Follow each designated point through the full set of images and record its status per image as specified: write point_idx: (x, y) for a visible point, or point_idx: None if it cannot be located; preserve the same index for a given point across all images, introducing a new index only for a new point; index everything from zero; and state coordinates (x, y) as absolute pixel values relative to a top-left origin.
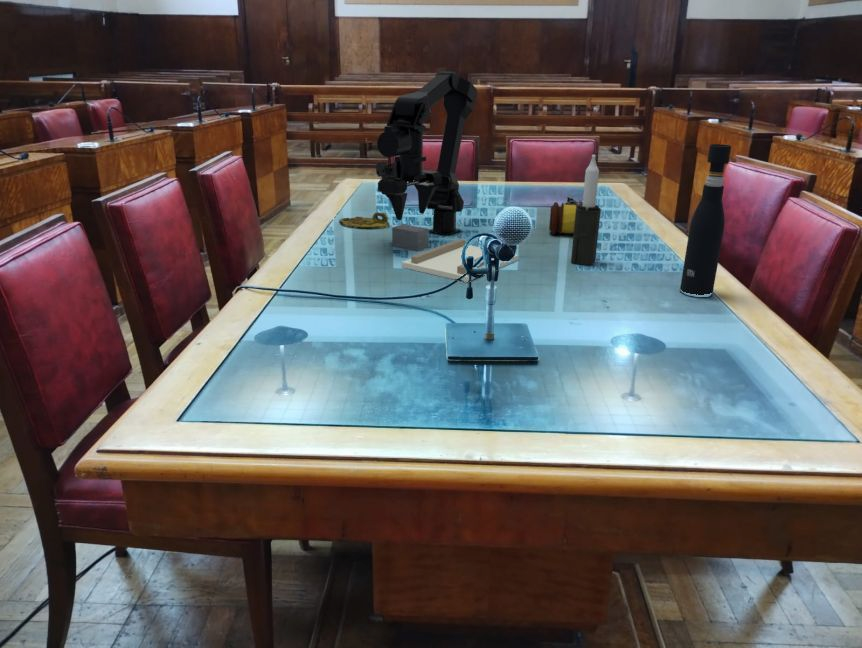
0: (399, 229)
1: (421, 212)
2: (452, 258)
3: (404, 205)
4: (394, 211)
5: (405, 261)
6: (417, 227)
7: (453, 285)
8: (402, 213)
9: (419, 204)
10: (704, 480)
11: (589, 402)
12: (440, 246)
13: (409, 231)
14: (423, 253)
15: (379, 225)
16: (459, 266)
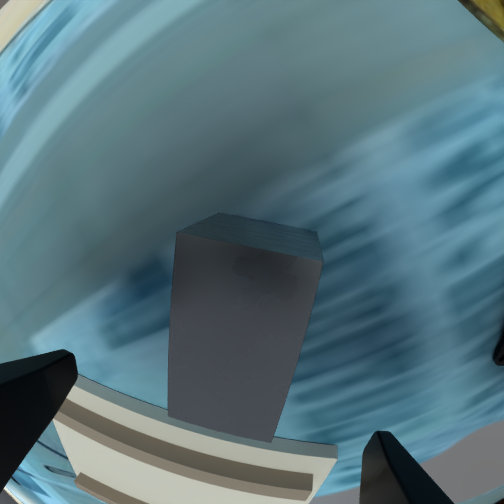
0: (173, 298)
1: (370, 447)
2: (150, 473)
3: (11, 468)
4: (6, 366)
5: None
6: (270, 390)
7: (59, 456)
8: (44, 418)
9: (393, 487)
10: (15, 500)
11: (14, 490)
12: (170, 464)
13: (169, 370)
14: (76, 426)
15: (486, 8)
16: (77, 483)
